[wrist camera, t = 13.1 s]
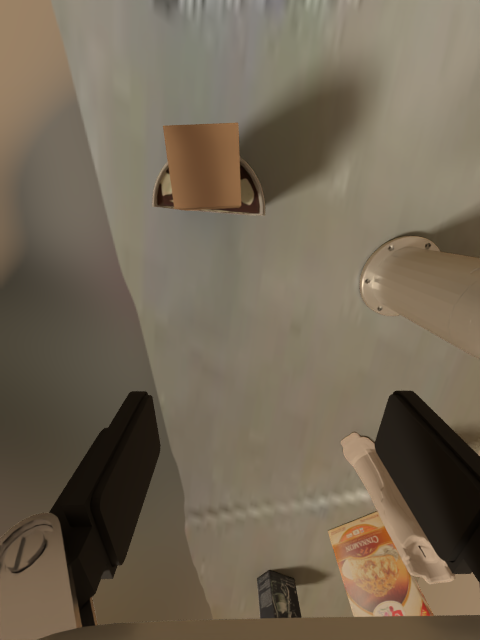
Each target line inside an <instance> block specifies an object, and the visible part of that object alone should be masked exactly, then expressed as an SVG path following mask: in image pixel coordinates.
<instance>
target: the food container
mask: <svg viewBox="0 0 480 640" xmlns="http://www.w3.org/2000/svg"><path fill="white" fill-rule="evenodd" d="M239 157H240V156H239ZM240 184H241V206H240V207H239V208H226V209H205V210H190V211H202V212H215V213H227V214H239V215H263V216H265V199H264V194H263V190H262V187H261V184H260V182H259V180H258V177H257V176H256V174H255V173H254V171H253V169H252V168H251V167H250V166H249V165H248V163H247V162H246V161H245V160H244V159H242V158H241V157H240ZM152 206H153V207H163V208H171V209H174V203H173V195H172V188H171V181H170V173H169V166H168V161H167V163H166V164H165V165H164V167H163V168H162V169H161V171H160V173H159V175H158V177H157V180H156V183H155V186H154V191H153V197H152ZM179 210H180V209H179Z"/></svg>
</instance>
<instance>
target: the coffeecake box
mask: <svg viewBox="0 0 480 640" xmlns="http://www.w3.org/2000/svg"><path fill="white" fill-rule="evenodd" d="M328 533H329V536H330V540H331V543H332V546H333V550H334V553H335V556H336V559H337V563H338V566H339V569H340V573H341V576H342V579H343V582H344V586H345V589H346V592H347V595H348V599H349V602H350V605H351V608H352V612H353V615H354V617H375V616H434V615H433V613H432V611H431V609H430V607H429V605H428V603H427V601H426V599H425V597H424V595H423V594H422V592H421V589H420V587H419V585H418V583H417V581H416V579H415V577H414V576H412V575H410V573H409V572H408V570H407V568H406V566H405V564H404V563H403V561H402V559H401V557H400V555H399V553H398V551H397V549H396V547H395V545H394V543H393V541H392V539H391V537H390V536H389V534H388V532H387V530H386V528H385V526H384V524H383V522H382V520H381V518H380V516H379V513H378V511H377V512H374V513H372V514H369V515H367V516H364V517H362V518H359V519H357V520H354V521H352V522H349V523H347V524H344V525H342V526H339V527H336V528H334V529H331V530H329V531H328Z"/></svg>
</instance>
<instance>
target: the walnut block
mask: <svg viewBox="0 0 480 640" xmlns="http://www.w3.org/2000/svg"><path fill="white" fill-rule="evenodd" d="M163 129H164V137H165V144H166V151H167V159H168V166H169V173H170V181H171V188H172V195H173V203H174V209H180V210H205V209H226V208H239V207H240V206H241V184H240V157H239V131H238V123H220V124H196V125H172V126H163Z"/></svg>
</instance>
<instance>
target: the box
mask: <svg viewBox="0 0 480 640" xmlns="http://www.w3.org/2000/svg"><path fill="white" fill-rule="evenodd" d="M257 586H258V597H259V609H260V619H262V618H301V612H300V607H299V602H298V596H297V591H296V585H295V580H294V579H293V578H290V577H287V576H284V575H282V574H279V573H276V572H273V571H270V570H269V571H267V572H266V573H264V574H263V575H262V576H260V577H259V578H258V579H257Z"/></svg>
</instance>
